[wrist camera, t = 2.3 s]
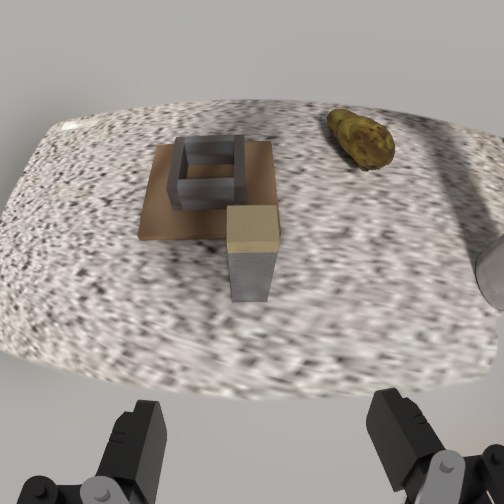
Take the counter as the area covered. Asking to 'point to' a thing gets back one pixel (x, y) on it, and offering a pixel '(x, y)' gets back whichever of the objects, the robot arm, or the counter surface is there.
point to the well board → (205, 186)
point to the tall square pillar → (251, 250)
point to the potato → (362, 139)
